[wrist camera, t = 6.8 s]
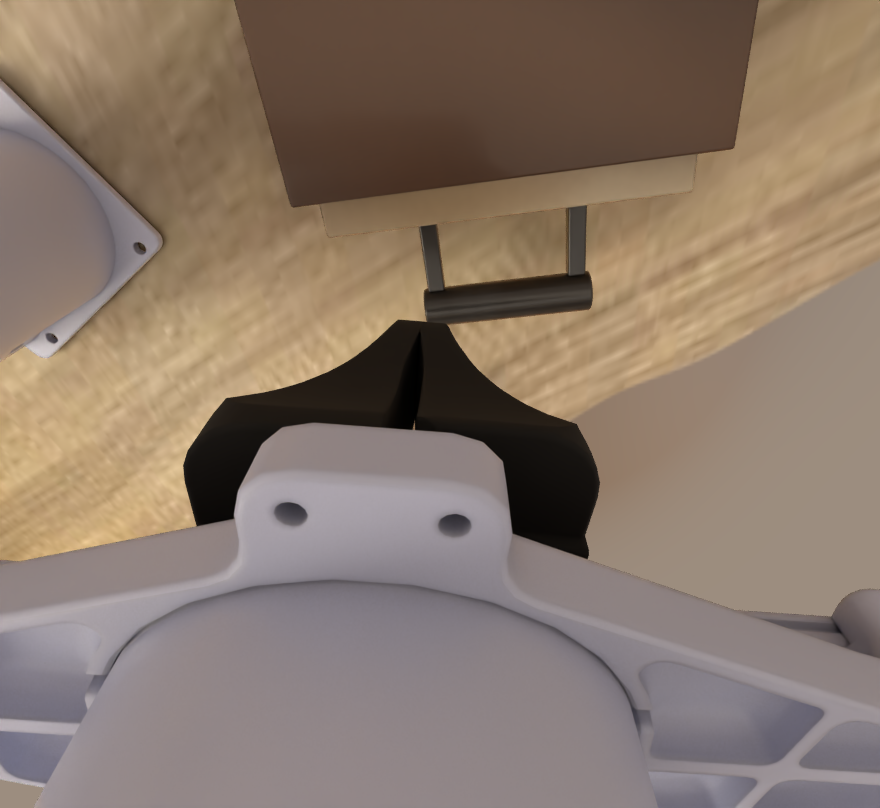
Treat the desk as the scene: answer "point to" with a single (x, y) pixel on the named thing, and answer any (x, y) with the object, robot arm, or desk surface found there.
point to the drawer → (501, 201)
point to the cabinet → (489, 87)
